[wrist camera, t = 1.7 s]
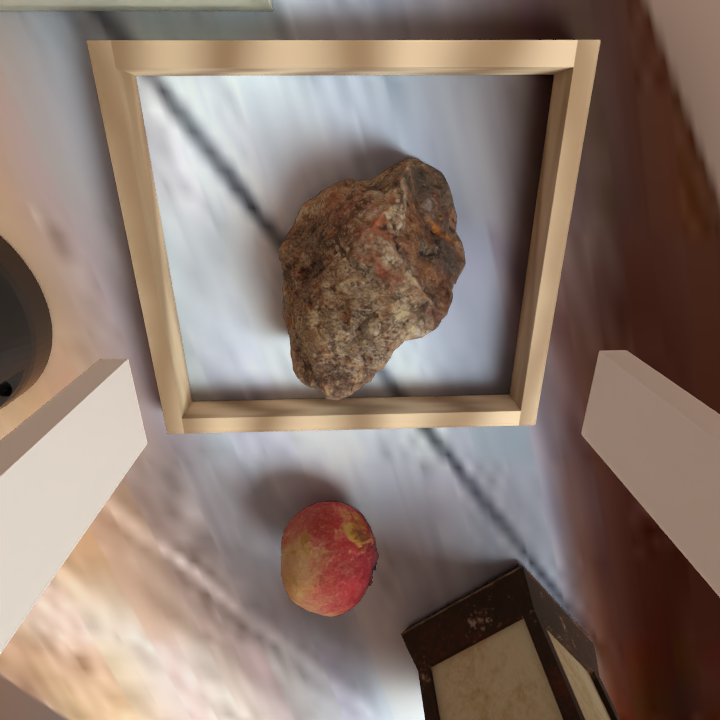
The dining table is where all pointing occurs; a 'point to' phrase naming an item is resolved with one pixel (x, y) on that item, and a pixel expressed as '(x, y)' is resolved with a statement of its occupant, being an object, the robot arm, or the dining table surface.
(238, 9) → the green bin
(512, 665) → the lantern
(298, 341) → the rock
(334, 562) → the fruit
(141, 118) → the pine frame
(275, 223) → the dining table surface
